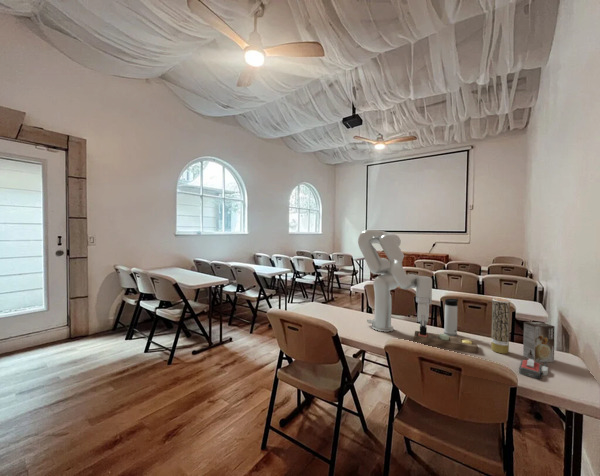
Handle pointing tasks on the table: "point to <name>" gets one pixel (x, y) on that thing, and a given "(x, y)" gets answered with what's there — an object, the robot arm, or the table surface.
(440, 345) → the button panel
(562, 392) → the table surface
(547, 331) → the coffee box
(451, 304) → the travel mug
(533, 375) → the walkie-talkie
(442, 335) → the sage button
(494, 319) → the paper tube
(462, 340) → the ochre button
